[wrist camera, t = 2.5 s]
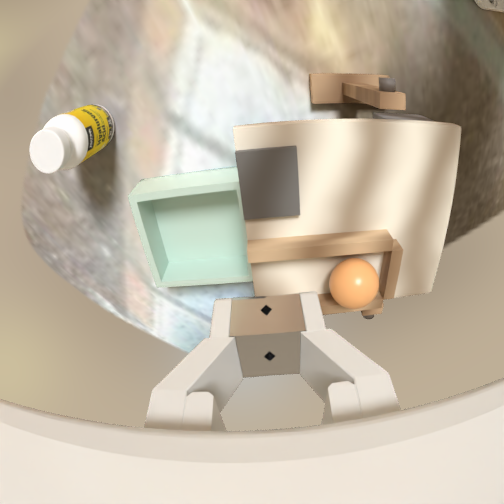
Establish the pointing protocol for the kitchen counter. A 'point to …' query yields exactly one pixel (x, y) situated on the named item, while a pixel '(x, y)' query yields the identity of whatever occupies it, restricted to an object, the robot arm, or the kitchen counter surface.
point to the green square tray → (193, 228)
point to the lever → (346, 201)
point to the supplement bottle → (71, 138)
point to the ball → (354, 283)
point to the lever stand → (357, 101)
